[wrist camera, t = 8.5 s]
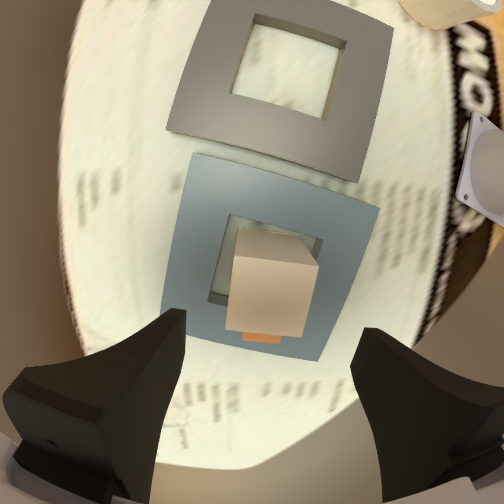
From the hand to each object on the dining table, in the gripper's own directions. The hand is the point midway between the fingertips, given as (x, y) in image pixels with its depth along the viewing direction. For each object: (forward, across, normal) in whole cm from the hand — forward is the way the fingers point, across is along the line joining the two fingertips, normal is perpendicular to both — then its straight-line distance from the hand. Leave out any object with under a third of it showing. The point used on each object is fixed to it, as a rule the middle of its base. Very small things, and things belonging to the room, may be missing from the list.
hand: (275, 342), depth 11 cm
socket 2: (+9, 0, 0) cm, 9 cm away
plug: (+9, 0, 0) cm, 9 cm away
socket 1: (+9, 0, -13) cm, 16 cm away
